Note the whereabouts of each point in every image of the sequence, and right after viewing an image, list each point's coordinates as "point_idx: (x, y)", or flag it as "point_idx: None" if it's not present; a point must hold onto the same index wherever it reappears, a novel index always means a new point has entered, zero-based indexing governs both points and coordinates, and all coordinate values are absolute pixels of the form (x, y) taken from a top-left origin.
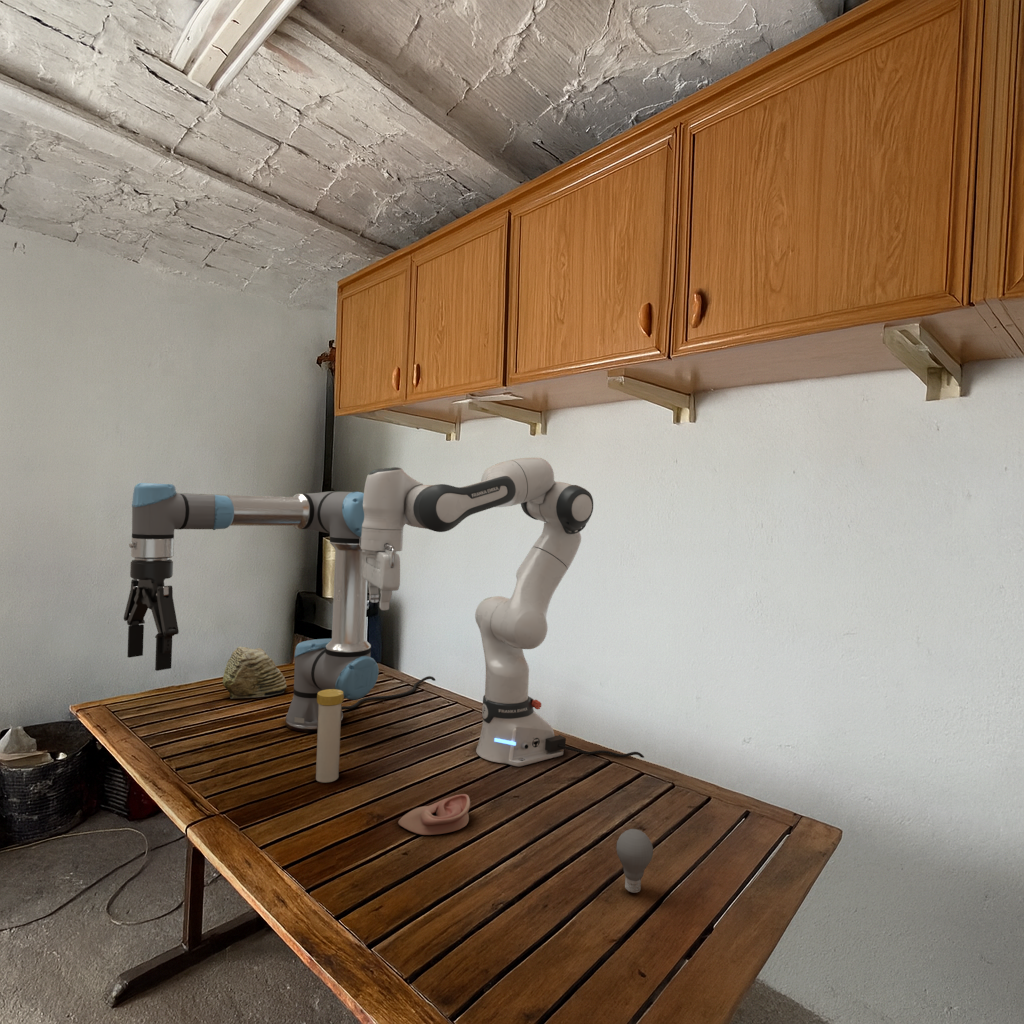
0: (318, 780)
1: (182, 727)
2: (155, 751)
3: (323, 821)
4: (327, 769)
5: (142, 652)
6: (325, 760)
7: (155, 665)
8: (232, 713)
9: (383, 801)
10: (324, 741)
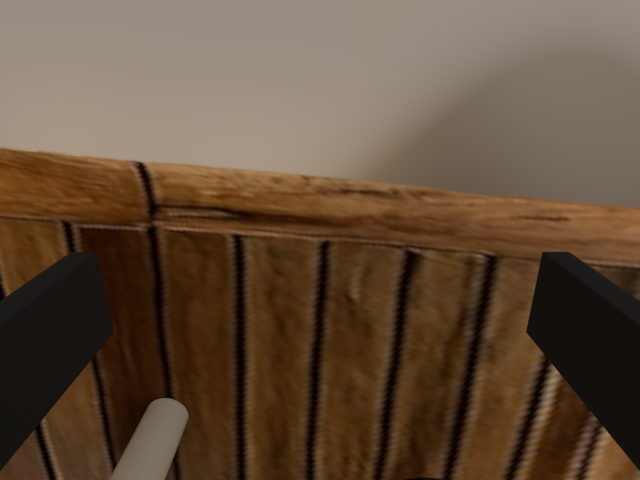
0: (161, 399)
1: None
2: None
3: None
4: (139, 423)
5: (536, 341)
6: (134, 435)
7: (76, 264)
8: (606, 451)
9: None
10: (118, 468)
